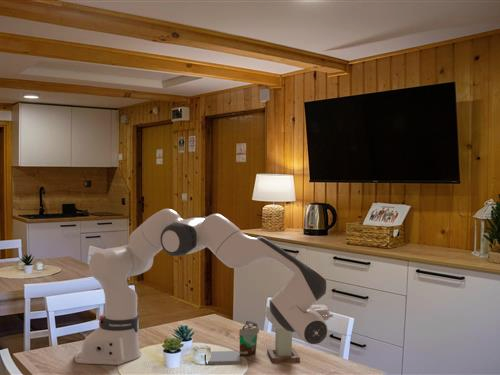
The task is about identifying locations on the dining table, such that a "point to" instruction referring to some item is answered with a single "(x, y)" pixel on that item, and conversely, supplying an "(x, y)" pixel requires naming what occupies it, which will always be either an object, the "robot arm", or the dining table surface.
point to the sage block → (283, 343)
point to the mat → (224, 357)
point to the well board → (292, 358)
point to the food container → (248, 338)
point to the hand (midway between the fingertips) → (292, 306)
